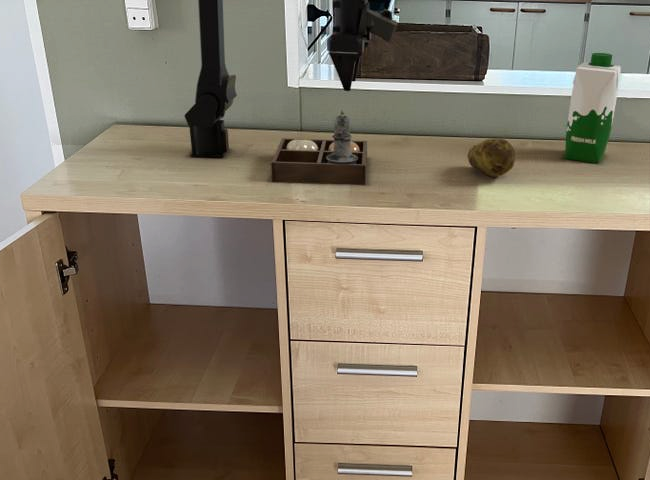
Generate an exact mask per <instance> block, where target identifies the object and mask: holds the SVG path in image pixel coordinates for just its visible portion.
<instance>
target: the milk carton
mask: <svg viewBox="0 0 650 480" xmlns="http://www.w3.org/2000/svg"><path fill="white" fill-rule="evenodd" d="M612 61H613V54H611V53H605V52H593V53H591V58H590V62H582V63H581V64H579V65H578V66H577V67H576V69H575V74H574V77H573V82H572V91H571V95H570V96H571V97H570V103H569V109H568V117H567V122H566V131H565V147H564V159H565V160H570V161H571V160H572V161H579V162H586V163H594V164H599V163H600V161H601V160H602V158H603V157H604V155H605V151H606V148H607V145H608V143H609V140H610V137H611V132H612V126H613V121H614V115H615V111H616V104H617V99H618V94H619V93H618V92H619V85H620V79H621V70H622V66H621V65H615V64H612Z"/></svg>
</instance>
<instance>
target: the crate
mask: <svg viewBox="0 0 650 480" xmlns="http://www.w3.org/2000/svg"><path fill="white" fill-rule="evenodd" d="M292 140H310V141H313V142H314V143H315V144H316V145H317V146H318V149H319V151H315V150H286V147H287V145H288V143H289V142H291V141H292ZM350 141H351V142H354V143H356V144H357V145H358V146H359V148H360V152H351V153H352V154H354V155H356V156H357V157H358V160H357V161H356V164H334V163H328V160H327V159H326V156H328V155H329V154H332V153H333V151H328V148H329V146H330V145H331V144H332V143H333V142H334V139H317V138H290V137H289V138H285V137H282V138H281V139H280V141H279V144H278V146H277V149H276V151H275V153H274V155H273V158H272V160H271V162H270V169H271V182H273V183H274V182H275V183H302V184H303V183H307V184H339V185H366V179H367V164H368V163H367V162H368V141H367V140H351V139H350Z"/></svg>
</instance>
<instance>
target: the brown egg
mask: <svg viewBox="0 0 650 480" xmlns="http://www.w3.org/2000/svg"><path fill="white" fill-rule="evenodd" d="M351 141H352V140H351ZM351 141H350V149H351V152H360V148H359V146H358V145H357V144H356V143H354V142H351ZM333 150H334V142H333V143H332V144H331V145H330V146H329V148H328V151H333Z"/></svg>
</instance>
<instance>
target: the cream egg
mask: <svg viewBox="0 0 650 480" xmlns="http://www.w3.org/2000/svg"><path fill="white" fill-rule="evenodd" d="M286 150H315V151H319V149H318V146H317V145H316V144H315V143H314V142H313V141H310V140H292V141H291V142H289V143H288V145H287V147H286Z"/></svg>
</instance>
